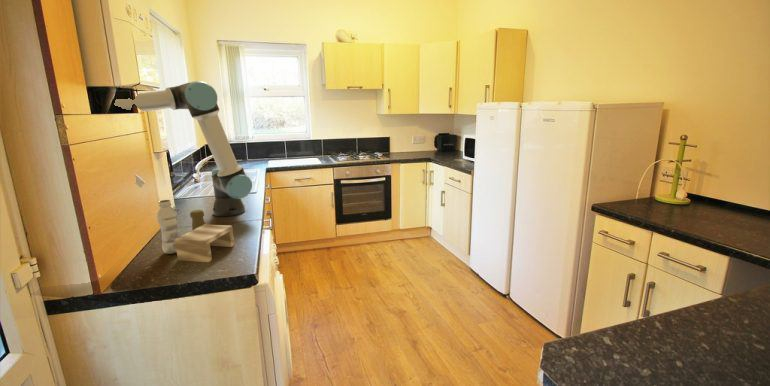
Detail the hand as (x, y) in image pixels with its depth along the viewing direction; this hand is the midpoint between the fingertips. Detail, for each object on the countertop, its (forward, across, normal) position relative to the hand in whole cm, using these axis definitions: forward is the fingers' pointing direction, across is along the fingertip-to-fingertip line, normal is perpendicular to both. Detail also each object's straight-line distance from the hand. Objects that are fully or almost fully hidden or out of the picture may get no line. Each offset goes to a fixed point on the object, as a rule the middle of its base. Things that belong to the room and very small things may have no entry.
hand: (130, 188), depth 130 cm
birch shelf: (+35, +1, +1) cm, 35 cm away
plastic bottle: (+26, +1, -9) cm, 28 cm away
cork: (+27, -17, -8) cm, 33 cm away
